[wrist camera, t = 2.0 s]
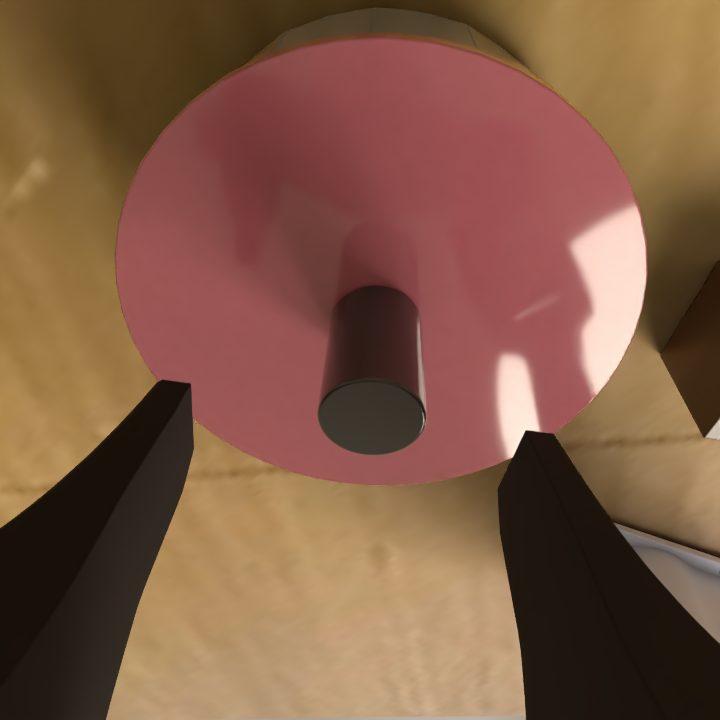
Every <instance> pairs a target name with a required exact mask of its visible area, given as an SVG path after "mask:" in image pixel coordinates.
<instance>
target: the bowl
mask: <svg viewBox="0 0 720 720" xmlns="http://www.w3.org/2000/svg"><path fill="white" fill-rule="evenodd" d="M382 32H392V33H402V34H411V35H420V36H430V37H436V38H440V39H444V40H448V41H452V42H455V43H459V44H463V45H467V46H471V47H475V48H478V49H480V50H483V51H485V52H487V53H490V54H492V55H494V56H497V57H499V58H501V59H504V60H506V61H508V62H511V63H513V64H515V65H517V66H519V67H521V68H522V69H524V70H526V71H527V72H529V73H530V74H532V75H534V76H535V77H537V75H536V74H535V73H533V72H532V71H530V70H529V69H528V68H526V67H525V66H524V65H522V64H521V63H520V62H519V61H517V60H516V59H515V58H514V57H513V56H512V55H511V54H509V53H508V52H507V51H506V50H505V49H504V48H502V47H501V46H500V45H498V44H497V43H495V42H494V41H492V40H490V39H489V38H487V37H486V36H484V35H482V34H481V33H479V32H478V31H476V30H475V29H474V28H472V27H471V26H469V25H468V24H464V23H461V22H456V21H453V20H451V19H448V18H444V17H440V16H436V15H432V14H429V13H425V12H421V11H413V10H404V9H394V8H380V7H376V8H375V9H374V8H373V7H371V8H367V9H359V10H354V11H349V12H344V13H338V14H333V15H329V16H326V17H324V18H321V19H318V20H315V21H312V22H310V23H307V24H304V25H302V26H300V27H297V28H293V29H290V30H287V31H286V32H283V33H282V34H281V35H280V36H278V37H277V38H276V39H275V40H274V41H273V42H271V43H270V44H269V45H268V46H267V47H265V48H264V49H263V50H261V51H260V52H259V53H257V54H256V55H255V56H254V57H253V58H252V59H251V60H250V61H249V62H251V61H253V60H255V59H256V58H258V57H260V56H263V55H266V54H269V53H271V52H274V51H277V50H280V49H283V48H286V47H289V46H292V45H294V44H297V43H300V42H305V41H310V40H315V39H321V38H326V37H331V36H337V35H342V34H356V33H382ZM249 62H248V63H249ZM537 78H538V77H537ZM538 79H539V78H538Z"/></svg>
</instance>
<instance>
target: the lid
mask: <svg viewBox="0 0 720 720" xmlns="http://www.w3.org/2000/svg"><path fill="white" fill-rule="evenodd" d="M115 265H116V284H117V288H118V293H119V298H120V303H121V308H122V312H123V315H124V318H125V321H126V323H127V326H128V329H129V332H130V334H131V337H132V339H133V341H134V343H135V345H136V347H137V349H138V351H139V353H140V355H141V356H142V358H143V360H144V362H145V364H146V365H147V366H148V368H149V369H150V371H151V372H152V374H153V375H154V377H155V378H156V379H157V381H158V382H159V381H160V380H162V379H163V380H170V381H177V382H185V383H191V392H192V416H193V419H195V420H196V421H197V422H198V423H199V424H201V425H202V426H203V427H205V428H206V429H208V430H209V431H210V432H212V433H213V434H214V435H216V436H217V437H219V438H220V439H222V440H223V441H225V442H227V443H229V444H230V445H232V446H234V447H235V448H237V449H239V450H241V451H242V452H244V453H247V454H249V455H251V456H253V457H255V458H257V459H259V460H262V461H264V462H266V463H269V464H271V465H274V466H277V467H280V468H282V469H285V470H288V471H291V472H294V473H298V474H302V475H306V476H310V477H313V478H317V479H323V480H329V481H334V482H340V483H349V484H360V485H408V484H421V483H427V482H433V481H440V480H446V479H450V478H454V477H458V476H462V475H466V474H470V473H474V472H477V471H480V470H482V469H485V468H488V467H491V466H494V465H497V464H499V463H501V462H504V461H506V460H508V459H510V458H512V457H513V456H514V454H515V452H516V449H517V447H518V445H519V443H520V441H521V439H522V437H523V435H524V433H525V430H530V431H537V432H544V433H552V434H554V433H555V432H557V431H558V430H559V429H561V428H562V427H563V426H565V425H566V424H568V423H569V422H570V421H571V420H572V419H573V418H574V417H575V416H576V415H577V414H579V413H580V412H581V411H582V410H583V409H584V408H585V407H586V406H587V405H588V404H589V403H590V402H591V401H592V400H593V399H594V397H595V396H596V395H597V394H598V393H599V392H600V390H601V389H602V388H603V387H604V386H605V385H606V383H607V382H608V380H609V379H610V377H611V376H612V374H613V373H614V371H615V370H616V368H617V367H618V365H619V364H620V362H621V361H622V359H623V357H624V355H625V353H626V351H627V349H628V346H629V344H630V342H631V340H632V338H633V336H634V334H635V331H636V327H637V324H638V321H639V318H640V314H641V311H642V308H643V304H644V297H645V290H646V283H647V276H648V268H647V241H646V236H645V230H644V225H643V220H642V214H641V210H640V208H639V205H638V202H637V200H636V197H635V194H634V192H633V189H632V186H631V184H630V181H629V179H628V177H627V175H626V174H625V172H624V170H623V168H622V167H621V165H620V163H619V162H618V160H617V158H616V156H615V155H614V153H613V151H612V149H611V148H610V147H609V145H608V144H607V142H606V141H605V140H604V139H603V138H602V136H601V135H600V134H599V133H598V132H597V130H596V129H595V128H594V127H593V126H592V124H591V123H590V122H589V121H588V120H587V118H586V117H585V116H584V115H583V114H582V113H581V112H580V111H579V110H578V109H577V108H576V107H575V106H573V105H572V104H571V103H570V102H569V101H568V100H566V99H565V98H564V97H563V96H562V95H561V94H560V93H558V92H557V91H556V90H555V89H554V88H553V87H551V86H550V85H548V84H546V83H545V82H543V81H542V80H540V79H538V78H537V77H535V76H534V75H532V74H530V73H529V72H527V71H526V70H524V69H522V68H521V67H519V66H517V65H515V64H513V63H511V62H508V61H506V60H504V59H501V58H499V57H497V56H494V55H492V54H490V53H487V52H485V51H483V50H480V49H478V48H475V47H471V46H467V45H463V44H459V43H455V42H452V41H448V40H444V39H440V38H436V37H430V36H420V35H411V34H402V33H392V32H382V33H356V34H342V35H337V36H331V37H326V38H321V39H315V40H310V41H305V42H300V43H297V44H294V45H292V46H289V47H286V48H283V49H280V50H277V51H274V52H271V53H269V54H266V55H263V56H260V57H258V58H256V59H255V60H253V61H251V62H249V63H247V64H245V65H243V66H241V67H239V68H237V69H236V70H234V71H232V72H230V73H228V74H226V75H224V76H223V77H222V78H220V79H219V80H218V81H216V82H215V83H214V84H212V85H211V86H209V87H208V88H207V89H205V90H204V91H203V92H201V93H200V94H199V95H197V96H196V97H195V98H193V99H192V100H191V101H190V102H189V103H188V104H187V105H186V106H185V108H184V109H183V110H182V111H181V112H180V113H179V114H178V115H177V116H176V117H175V118H174V119H173V120H172V121H171V122H170V123H169V124H168V125H167V126H166V127H165V128H164V130H163V131H162V132H161V133H160V135H159V136H158V138H157V139H156V141H155V142H154V144H153V145H152V146H151V148H150V149H149V151H148V152H147V154H146V155H145V156H144V158H143V159H142V161H141V163H140V165H139V167H138V169H137V171H136V173H135V176H134V178H133V180H132V182H131V184H130V186H129V188H128V190H127V193H126V197H125V200H124V204H123V207H122V211H121V214H120V218H119V222H118V229H117V238H116V247H115Z"/></svg>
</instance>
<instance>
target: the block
mask: <svg viewBox="0 0 720 720" xmlns="http://www.w3.org/2000/svg"><path fill="white" fill-rule="evenodd" d="M661 358H662V360H663V362H664V364H665V366H666V368H667V370H668V372H669V373H670V375H671V377H672V379H673V381H674V383H675V385H676V387H677V388H678V390H679V392H680V394H681V396H682V398H683V400H684V402H685V404H686V405H687V407H688V409H689V411H690V413H691V415H692V417H693V419H694V420H695V422H696V424H697V426H698V428H699V430H700V432H701V434H702V436H703V437H704V438H708V439H715V440H720V261H719V262H718V263H717V265H716V266H715V268H714V270H713V271H712V273H711V275H710V276H709V278H708V279H707V281H706V283H705V284H704V286H703V287H702V289H701V291H700V292H699V294H698V296H697V297H696V299H695V300H694V302H693V304H692V305H691V307H690V309H689V310H688V312H687V313H686V315H685V317H684V318H683V320H682V322H681V323H680V325H679V326H678V328H677V330H676V331H675V333H674V335H673V336H672V338H671V339H670V341H669V343H668V344H667V346H666V347H665V349H664V351H663V352H662V354H661Z"/></svg>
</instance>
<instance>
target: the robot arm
mask: <svg viewBox="0 0 720 720" xmlns="http://www.w3.org/2000/svg"><path fill="white" fill-rule="evenodd" d="M193 450H194V439H193V416H192V392H191V383H185V382H177V381H170V380H163V379H162V380H160V381H159V382H157V383H156V384H155V385H154V386H153V388H152V389H151V390H150V391H149V392H148V393H147V395H146V396H145V397H144V398H143V399H142V400H141V401H140V403H139V404H138V405H137V406H136V407H135V408H134V409H133V410H132V411H131V412H130V414H129V415H128V416H127V417H126V418H125V419H124V420H123V421H122V422H121V423H120V424H119V425H118V426H117V427H116V428H115V429H114V430H113V431H112V432H111V433H110V434H109V435H108V436H107V437H106V438H105V439H104V440H103V441H102V442H101V443H100V444H99V445H98V446H97V447H96V448H95V449H94V450H93V451H92V452H91V453H90V454H89V455H88V456H87V457H86V458H85V459H84V460H83V461H82V462H80V463H79V464H78V465H77V466H76V467H75V468H74V469H73V470H72V471H70V472H69V473H68V474H67V475H66V476H65V477H64V478H63V479H62V480H61V481H59V482H58V483H57V484H56V485H55V486H54V487H52V488H51V489H50V490H49V491H48V492H46V493H45V494H44V495H43V496H42V497H40V498H39V499H38V500H37V501H35V502H34V503H33V504H32V505H30V506H29V507H28V508H27V509H25V510H24V511H23V512H21V513H20V514H19V515H18V516H16V517H15V518H14V519H12V520H11V521H10V522H8V523H7V524H5V525H4V526H3V527H1V528H0V720H106V717H107V713H108V709H109V705H110V702H111V698H112V694H113V691H114V687H115V684H116V680H117V676H118V673H119V669H120V666H121V662H122V658H123V655H124V651H125V648H126V644H127V641H128V638H129V634H130V631H131V627H132V624H133V620H134V617H135V614H136V610H137V607H138V604H139V601H140V598H141V596H142V593H143V590H144V587H145V585H146V582H147V580H148V577H149V575H150V572H151V570H152V567H153V565H154V562H155V560H156V557H157V555H158V552H159V550H160V547H161V545H162V542H163V540H164V537H165V535H166V532H167V530H168V527H169V525H170V522H171V520H172V517H173V515H174V512H175V509H176V507H177V504H178V502H179V499H180V497H181V494H182V491H183V488H184V484H185V480H186V477H187V473H188V469H189V465H190V462H191V458H192V454H193ZM498 506H499V524H500V535H501V541H502V547H503V552H504V558H505V564H506V569H507V575H508V580H509V585H510V591H511V596H512V601H513V607H514V612H515V618H516V623H517V628H518V635H519V642H520V649H521V658H522V670H523V682H524V694H525V709H526V720H720V558H718V557H715V556H712V555H709V554H706V553H703V552H700V551H697V550H694V549H691V548H688V547H685V546H682V545H679V544H676V543H673V542H670V541H667V540H664V539H661V538H658V537H655V536H652V535H649V534H646V533H643V532H640V531H637V530H635V529H632V528H629V527H626V526H623V525H620V524H617V523H614V522H613V521H612V520H611V518H610V517H609V516H608V514H607V513H606V511H605V510H604V509H603V507H602V506H601V504H600V503H599V502H598V500H597V499H596V497H595V496H594V494H593V493H592V491H591V490H590V488H589V487H588V485H587V484H586V482H585V481H584V479H583V478H582V476H581V475H580V473H579V472H578V470H577V469H576V467H575V466H574V464H573V463H572V461H571V460H570V458H569V457H568V455H567V454H566V452H565V451H564V449H563V448H562V446H561V445H560V443H559V442H558V440H557V439H556V437H555V436H554V434H552V433H544V432H537V431H530V430H525V433H524V435H523V437H522V439H521V441H520V443H519V445H518V447H517V449H516V452H515V454H514V456H513V458H512V460H511V462H510V464H509V466H508V468H507V470H506V473H505V475H504V477H503V479H502V481H501V483H500V485H499V487H498Z"/></svg>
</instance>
